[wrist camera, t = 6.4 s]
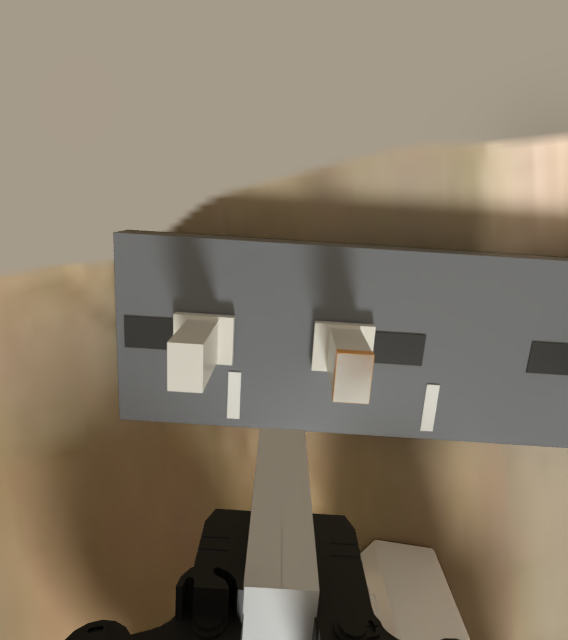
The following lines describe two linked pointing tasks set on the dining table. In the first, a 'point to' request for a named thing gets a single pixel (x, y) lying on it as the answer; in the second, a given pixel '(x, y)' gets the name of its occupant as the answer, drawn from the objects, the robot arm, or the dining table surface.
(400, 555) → the jar
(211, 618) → the robot arm
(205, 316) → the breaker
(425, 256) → the panel
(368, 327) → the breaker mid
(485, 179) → the dining table surface
